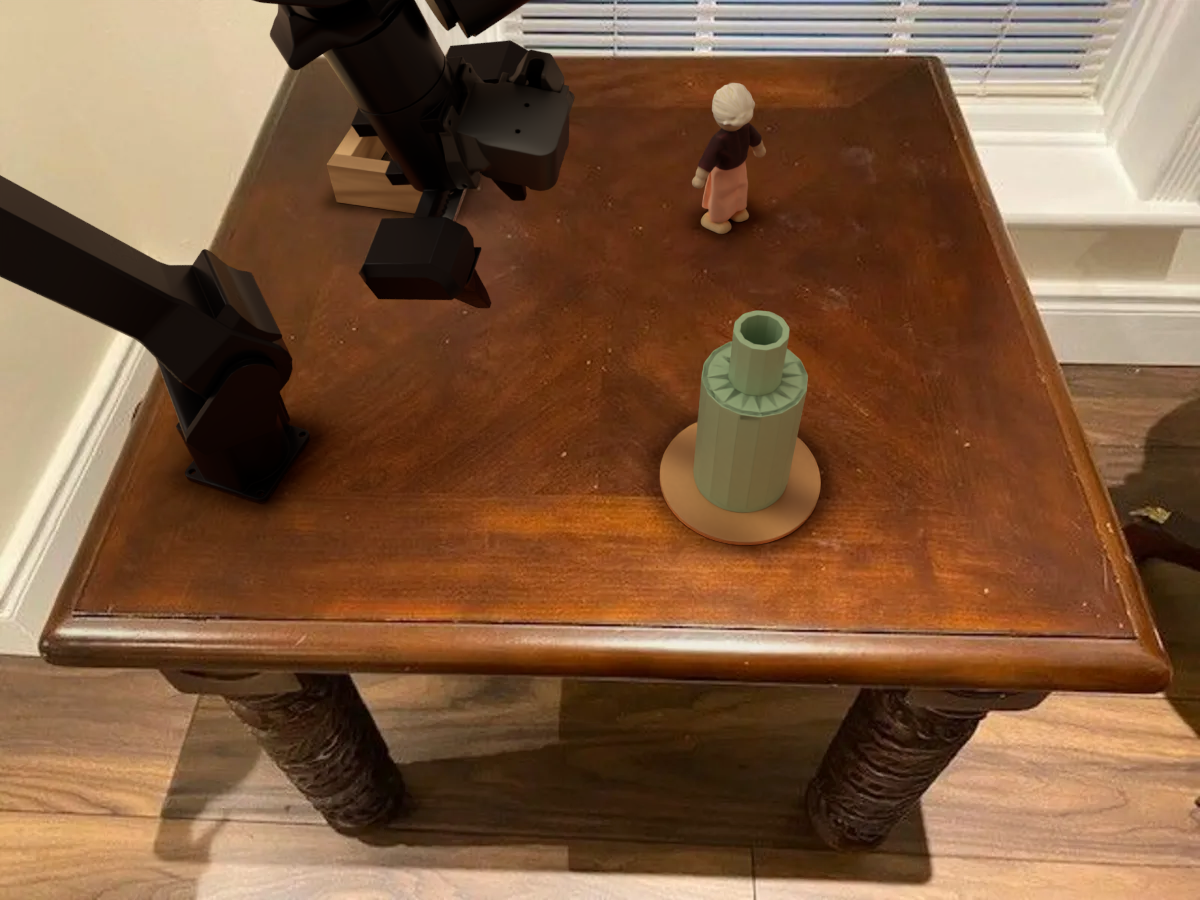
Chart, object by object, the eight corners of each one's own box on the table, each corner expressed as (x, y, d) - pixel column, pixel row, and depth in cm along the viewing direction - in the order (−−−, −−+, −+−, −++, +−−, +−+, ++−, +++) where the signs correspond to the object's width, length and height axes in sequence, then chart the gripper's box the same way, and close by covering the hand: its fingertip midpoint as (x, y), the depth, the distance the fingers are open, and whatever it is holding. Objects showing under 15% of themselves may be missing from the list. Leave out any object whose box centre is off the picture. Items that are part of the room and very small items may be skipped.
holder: (448, 218, 89) (442, 180, 86) (336, 202, 91) (326, 164, 88) (485, 147, 95) (480, 109, 92) (379, 133, 97) (371, 96, 94)
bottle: (688, 506, 69) (700, 363, 58) (699, 433, 73) (712, 286, 62) (784, 518, 69) (814, 376, 58) (790, 444, 73) (819, 297, 62)
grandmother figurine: (728, 189, 91) (741, 57, 81) (765, 206, 89) (782, 74, 79) (676, 234, 87) (683, 102, 77) (713, 253, 86) (725, 120, 76)
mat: (798, 565, 67) (799, 562, 67) (637, 517, 69) (637, 514, 69) (835, 441, 73) (836, 437, 73) (687, 401, 76) (687, 397, 75)
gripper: (480, 203, 51) (579, 370, 64) (569, -53, 59) (641, 143, 72) (296, 208, 55) (423, 364, 68) (402, -32, 63) (498, 150, 76)
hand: (502, 251), depth 71 cm, fingers open, 9 cm apart
